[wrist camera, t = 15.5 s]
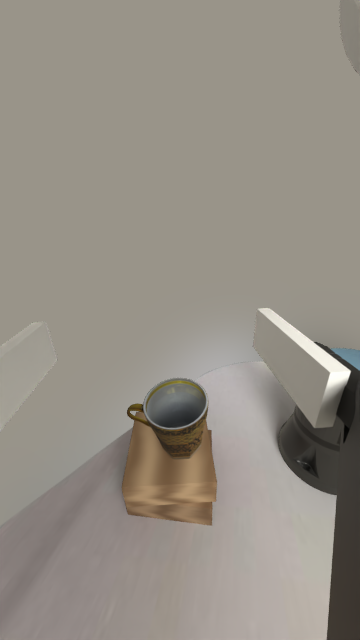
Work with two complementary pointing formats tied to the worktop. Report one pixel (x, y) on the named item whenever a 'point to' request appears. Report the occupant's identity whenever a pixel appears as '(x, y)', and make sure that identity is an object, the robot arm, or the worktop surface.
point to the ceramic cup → (175, 415)
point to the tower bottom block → (178, 510)
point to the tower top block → (166, 472)
